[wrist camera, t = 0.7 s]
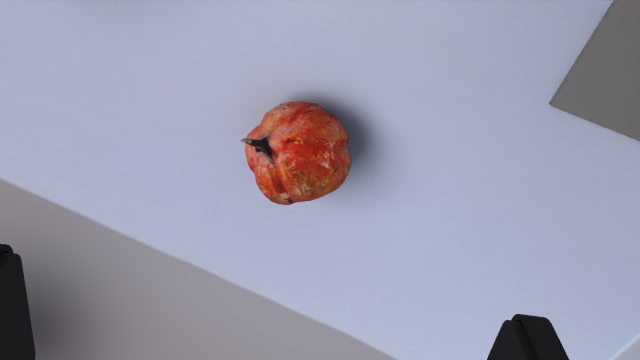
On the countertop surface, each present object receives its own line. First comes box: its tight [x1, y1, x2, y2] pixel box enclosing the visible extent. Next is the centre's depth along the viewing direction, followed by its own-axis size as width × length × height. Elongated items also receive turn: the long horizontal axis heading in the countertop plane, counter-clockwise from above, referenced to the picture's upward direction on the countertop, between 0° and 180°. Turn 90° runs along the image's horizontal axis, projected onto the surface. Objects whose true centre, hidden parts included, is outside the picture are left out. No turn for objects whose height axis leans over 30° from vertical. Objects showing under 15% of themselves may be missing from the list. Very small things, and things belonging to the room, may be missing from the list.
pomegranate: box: [241, 102, 351, 205], centre depth 38 cm, size 7×7×10 cm
